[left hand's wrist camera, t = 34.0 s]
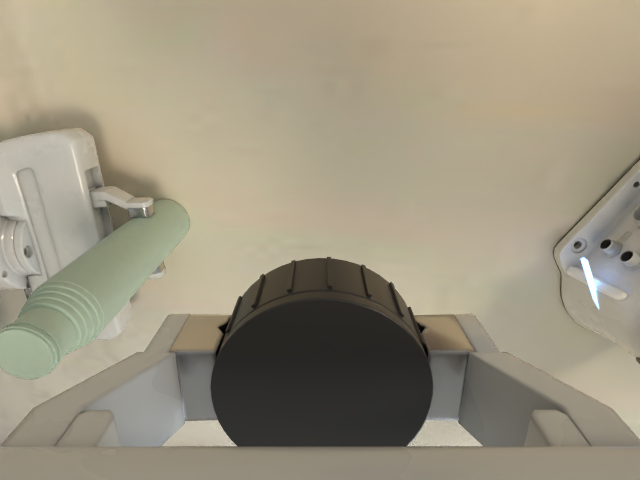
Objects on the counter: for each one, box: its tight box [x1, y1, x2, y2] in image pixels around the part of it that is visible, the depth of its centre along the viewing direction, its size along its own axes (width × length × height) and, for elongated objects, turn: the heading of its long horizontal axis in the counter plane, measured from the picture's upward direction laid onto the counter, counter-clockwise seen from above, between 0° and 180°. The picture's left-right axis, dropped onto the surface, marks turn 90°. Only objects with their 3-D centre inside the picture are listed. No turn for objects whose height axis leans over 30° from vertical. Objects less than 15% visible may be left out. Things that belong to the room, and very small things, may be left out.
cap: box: [210, 257, 433, 447], centre depth 9 cm, size 4×5×2 cm
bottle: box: [0, 199, 190, 379], centre depth 33 cm, size 5×5×23 cm
